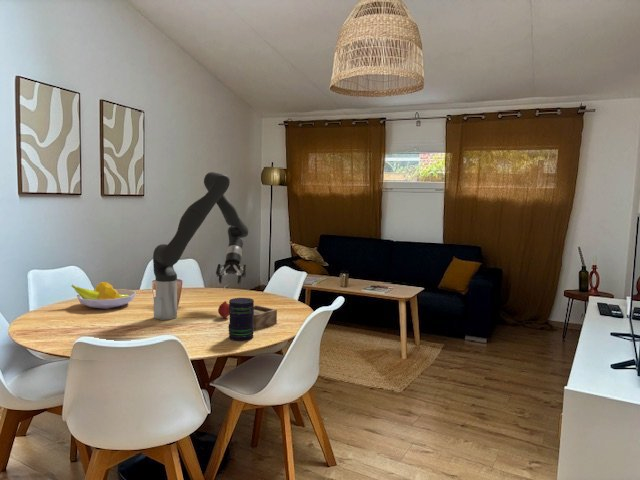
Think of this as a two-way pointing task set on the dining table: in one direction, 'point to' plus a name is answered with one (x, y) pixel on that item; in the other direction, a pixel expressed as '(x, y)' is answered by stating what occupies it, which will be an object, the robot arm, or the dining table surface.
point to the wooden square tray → (264, 317)
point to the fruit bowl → (104, 296)
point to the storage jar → (241, 319)
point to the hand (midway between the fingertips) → (229, 283)
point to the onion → (224, 309)
